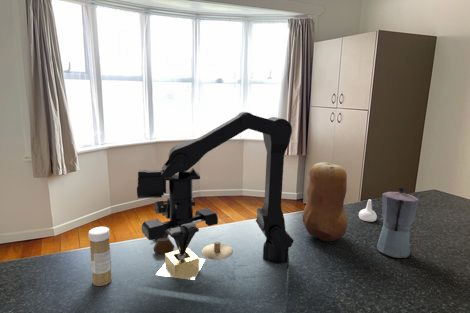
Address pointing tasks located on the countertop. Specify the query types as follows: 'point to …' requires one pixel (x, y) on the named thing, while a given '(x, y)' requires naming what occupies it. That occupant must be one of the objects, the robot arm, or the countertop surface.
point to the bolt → (163, 245)
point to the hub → (189, 275)
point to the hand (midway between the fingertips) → (181, 253)
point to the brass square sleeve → (181, 262)
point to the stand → (217, 251)
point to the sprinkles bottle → (100, 255)
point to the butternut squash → (326, 202)
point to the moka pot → (397, 223)
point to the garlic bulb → (368, 213)
